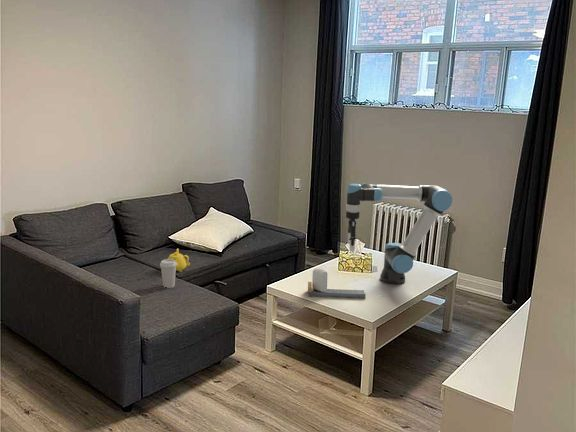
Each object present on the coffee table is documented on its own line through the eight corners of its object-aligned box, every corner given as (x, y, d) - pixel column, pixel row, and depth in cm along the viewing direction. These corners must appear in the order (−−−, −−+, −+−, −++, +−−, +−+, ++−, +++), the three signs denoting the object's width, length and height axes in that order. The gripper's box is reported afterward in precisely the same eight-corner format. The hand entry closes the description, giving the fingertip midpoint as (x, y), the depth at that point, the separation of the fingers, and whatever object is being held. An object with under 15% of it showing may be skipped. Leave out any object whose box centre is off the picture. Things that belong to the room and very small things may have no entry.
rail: (363, 292, 316) (364, 283, 315) (365, 298, 307) (365, 289, 306) (307, 290, 317) (308, 281, 315) (307, 296, 308) (308, 287, 307)
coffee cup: (180, 284, 321) (180, 260, 317) (170, 290, 312) (170, 264, 309) (167, 282, 325) (166, 257, 321) (156, 287, 316) (156, 262, 313)
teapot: (188, 275, 337) (188, 257, 334) (164, 275, 335) (163, 257, 333) (191, 264, 356) (190, 247, 354) (167, 265, 355) (167, 247, 352)
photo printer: (311, 288, 315) (311, 267, 314) (317, 288, 318) (317, 266, 317) (322, 292, 307) (322, 270, 306) (328, 291, 309) (328, 269, 308)
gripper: (344, 206, 324) (342, 241, 329) (347, 216, 300) (345, 253, 305) (357, 206, 324) (355, 241, 329) (361, 216, 300) (359, 254, 305)
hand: (350, 247), depth 317 cm, fingers open, 13 cm apart
